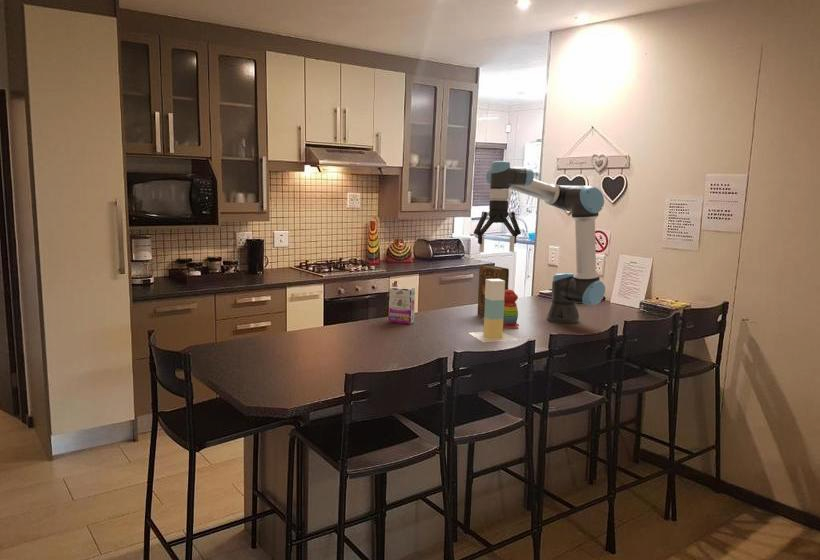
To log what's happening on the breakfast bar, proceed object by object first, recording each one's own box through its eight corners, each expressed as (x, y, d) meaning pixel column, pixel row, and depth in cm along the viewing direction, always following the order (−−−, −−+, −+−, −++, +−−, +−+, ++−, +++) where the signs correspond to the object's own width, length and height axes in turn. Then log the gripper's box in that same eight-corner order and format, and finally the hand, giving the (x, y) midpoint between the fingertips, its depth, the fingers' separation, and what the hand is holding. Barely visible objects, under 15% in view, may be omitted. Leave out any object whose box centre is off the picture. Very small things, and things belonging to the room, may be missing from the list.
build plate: (501, 333, 265) (501, 330, 265) (518, 342, 250) (518, 340, 250) (467, 335, 260) (467, 332, 260) (483, 344, 245) (483, 342, 245)
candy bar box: (414, 322, 281) (415, 287, 279) (410, 325, 277) (411, 289, 274) (392, 320, 285) (393, 285, 283) (388, 322, 281) (388, 287, 278)
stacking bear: (518, 331, 268) (520, 292, 265) (495, 330, 270) (497, 290, 267) (519, 326, 279) (521, 288, 276) (497, 324, 281) (498, 287, 278)
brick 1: (497, 297, 256) (498, 278, 255) (504, 300, 250) (505, 280, 249) (484, 297, 254) (485, 279, 253) (490, 300, 248) (491, 281, 247)
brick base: (496, 334, 258) (497, 315, 257) (502, 337, 253) (503, 318, 252) (483, 335, 257) (484, 316, 255) (489, 338, 251) (490, 319, 250)
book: (475, 315, 301) (477, 265, 297) (484, 313, 304) (486, 264, 300) (498, 321, 288) (500, 269, 284) (506, 320, 291) (509, 268, 287)
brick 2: (497, 315, 257) (498, 297, 256) (503, 318, 252) (504, 300, 250) (484, 316, 255) (485, 297, 254) (490, 319, 250) (491, 300, 249)
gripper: (522, 199, 253) (519, 250, 256) (466, 199, 246) (465, 251, 249) (530, 200, 246) (528, 252, 249) (474, 199, 239) (472, 253, 242)
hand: (496, 251), depth 249 cm, fingers open, 13 cm apart
